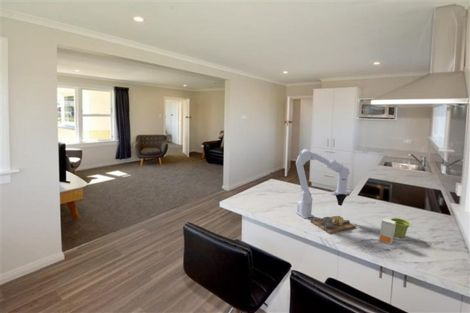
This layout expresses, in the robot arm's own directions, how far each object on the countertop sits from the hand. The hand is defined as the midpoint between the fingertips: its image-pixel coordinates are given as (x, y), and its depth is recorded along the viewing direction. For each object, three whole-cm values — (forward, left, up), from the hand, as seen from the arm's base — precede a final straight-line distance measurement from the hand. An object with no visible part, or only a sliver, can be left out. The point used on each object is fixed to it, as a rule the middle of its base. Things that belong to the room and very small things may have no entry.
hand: (339, 205), depth 167 cm
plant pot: (+30, +15, -10) cm, 35 cm away
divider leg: (+8, -9, -8) cm, 15 cm away
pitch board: (+6, -11, -9) cm, 15 cm away
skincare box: (+32, +2, -10) cm, 33 cm away
